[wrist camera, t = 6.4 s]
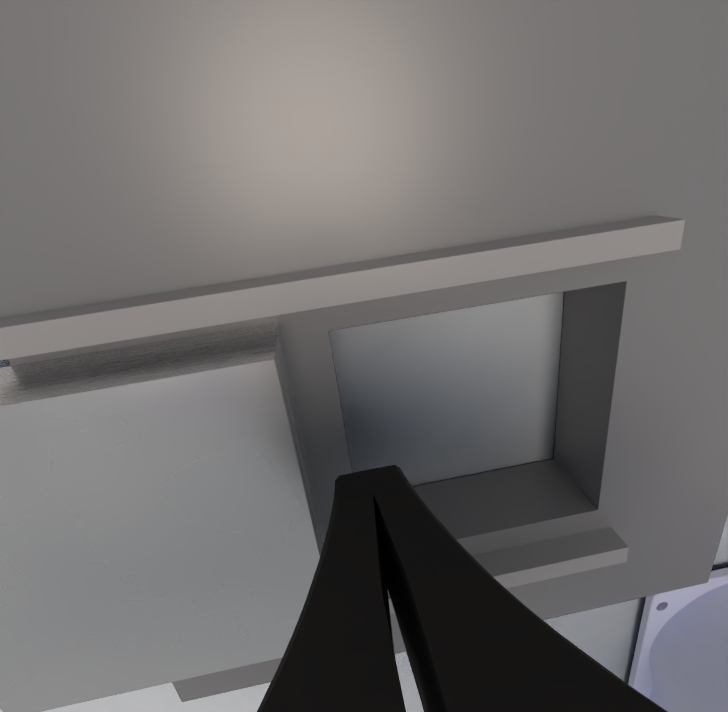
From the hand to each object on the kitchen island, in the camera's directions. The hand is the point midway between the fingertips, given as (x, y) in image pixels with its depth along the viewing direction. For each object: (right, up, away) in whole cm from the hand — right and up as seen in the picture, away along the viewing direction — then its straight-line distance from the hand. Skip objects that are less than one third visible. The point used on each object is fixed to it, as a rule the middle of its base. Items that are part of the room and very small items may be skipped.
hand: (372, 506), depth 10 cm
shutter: (-5, 0, +1) cm, 5 cm away
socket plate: (+1, +3, +4) cm, 5 cm away
